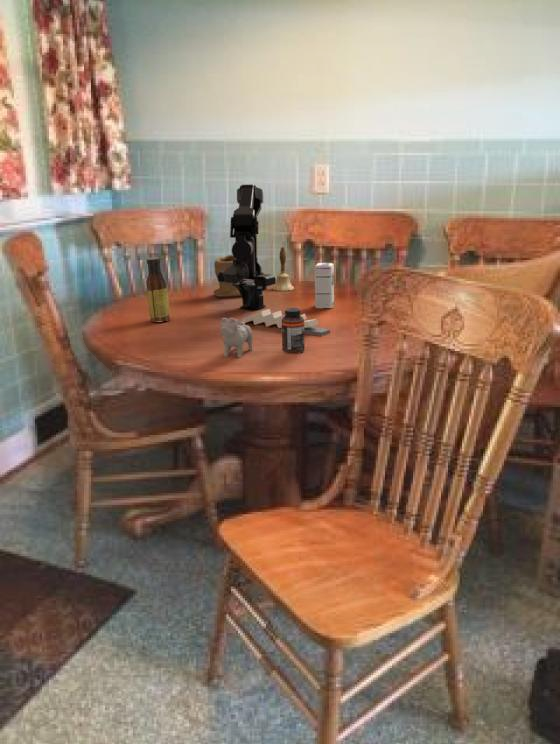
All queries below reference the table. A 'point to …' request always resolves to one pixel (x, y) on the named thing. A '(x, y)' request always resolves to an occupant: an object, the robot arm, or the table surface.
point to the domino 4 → (281, 322)
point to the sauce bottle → (157, 292)
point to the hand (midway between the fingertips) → (247, 305)
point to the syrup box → (324, 285)
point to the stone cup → (224, 287)
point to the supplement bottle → (293, 331)
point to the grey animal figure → (235, 335)
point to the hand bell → (283, 275)
